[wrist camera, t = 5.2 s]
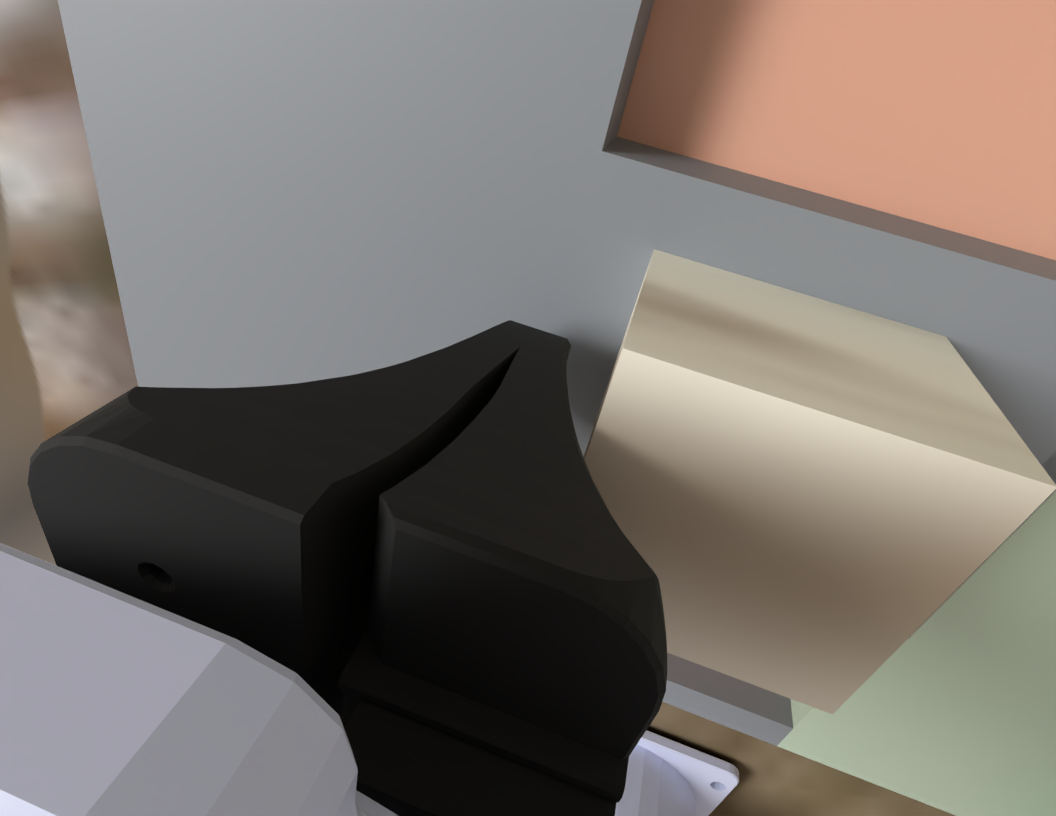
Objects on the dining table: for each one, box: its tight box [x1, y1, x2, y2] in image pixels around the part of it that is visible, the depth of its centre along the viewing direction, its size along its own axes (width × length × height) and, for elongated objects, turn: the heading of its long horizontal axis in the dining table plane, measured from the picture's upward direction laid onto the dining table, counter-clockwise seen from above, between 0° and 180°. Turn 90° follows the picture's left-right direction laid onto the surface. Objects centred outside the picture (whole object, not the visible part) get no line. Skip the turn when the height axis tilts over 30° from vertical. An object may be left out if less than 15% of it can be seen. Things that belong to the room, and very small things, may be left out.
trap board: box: [58, 0, 1056, 816], centre depth 12 cm, size 19×27×4 cm
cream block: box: [583, 249, 1056, 714], centre depth 10 cm, size 5×5×4 cm
